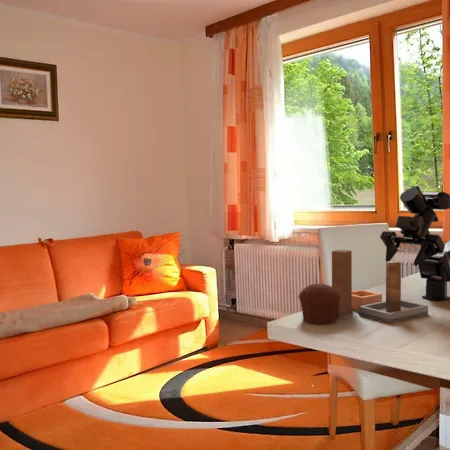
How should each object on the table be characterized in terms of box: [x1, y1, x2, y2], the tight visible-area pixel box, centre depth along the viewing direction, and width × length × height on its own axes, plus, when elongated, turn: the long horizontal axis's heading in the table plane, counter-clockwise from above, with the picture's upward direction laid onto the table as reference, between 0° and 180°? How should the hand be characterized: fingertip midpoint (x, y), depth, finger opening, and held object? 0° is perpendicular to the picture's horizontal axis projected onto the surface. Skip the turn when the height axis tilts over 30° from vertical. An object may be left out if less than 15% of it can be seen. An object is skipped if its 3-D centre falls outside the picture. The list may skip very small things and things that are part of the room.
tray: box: [358, 299, 429, 324], centre depth 145 cm, size 16×11×2 cm
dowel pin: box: [385, 260, 402, 313], centre depth 145 cm, size 4×4×14 cm
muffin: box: [298, 283, 341, 326], centre depth 140 cm, size 12×11×10 cm
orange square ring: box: [352, 289, 383, 311], centre depth 155 cm, size 8×8×4 cm
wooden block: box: [331, 249, 353, 318], centre depth 148 cm, size 9×4×18 cm, turn 143°
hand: (400, 263), depth 151 cm, fingers open, 9 cm apart
